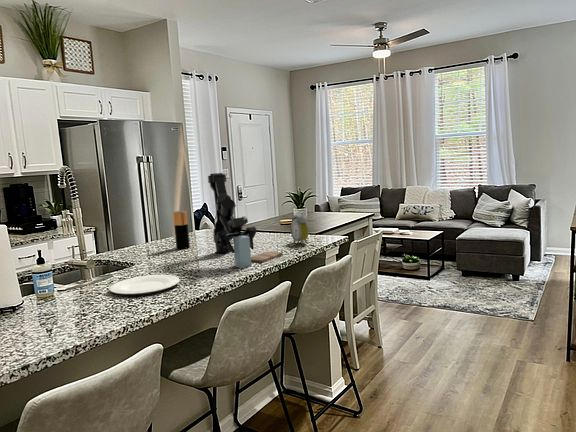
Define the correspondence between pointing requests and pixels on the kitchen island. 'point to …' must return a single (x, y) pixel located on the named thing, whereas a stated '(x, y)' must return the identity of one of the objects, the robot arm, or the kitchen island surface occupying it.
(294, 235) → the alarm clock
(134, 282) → the plate
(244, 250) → the slate-blue post
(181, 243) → the battery
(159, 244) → the kitchen island surface
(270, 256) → the tan flat board
